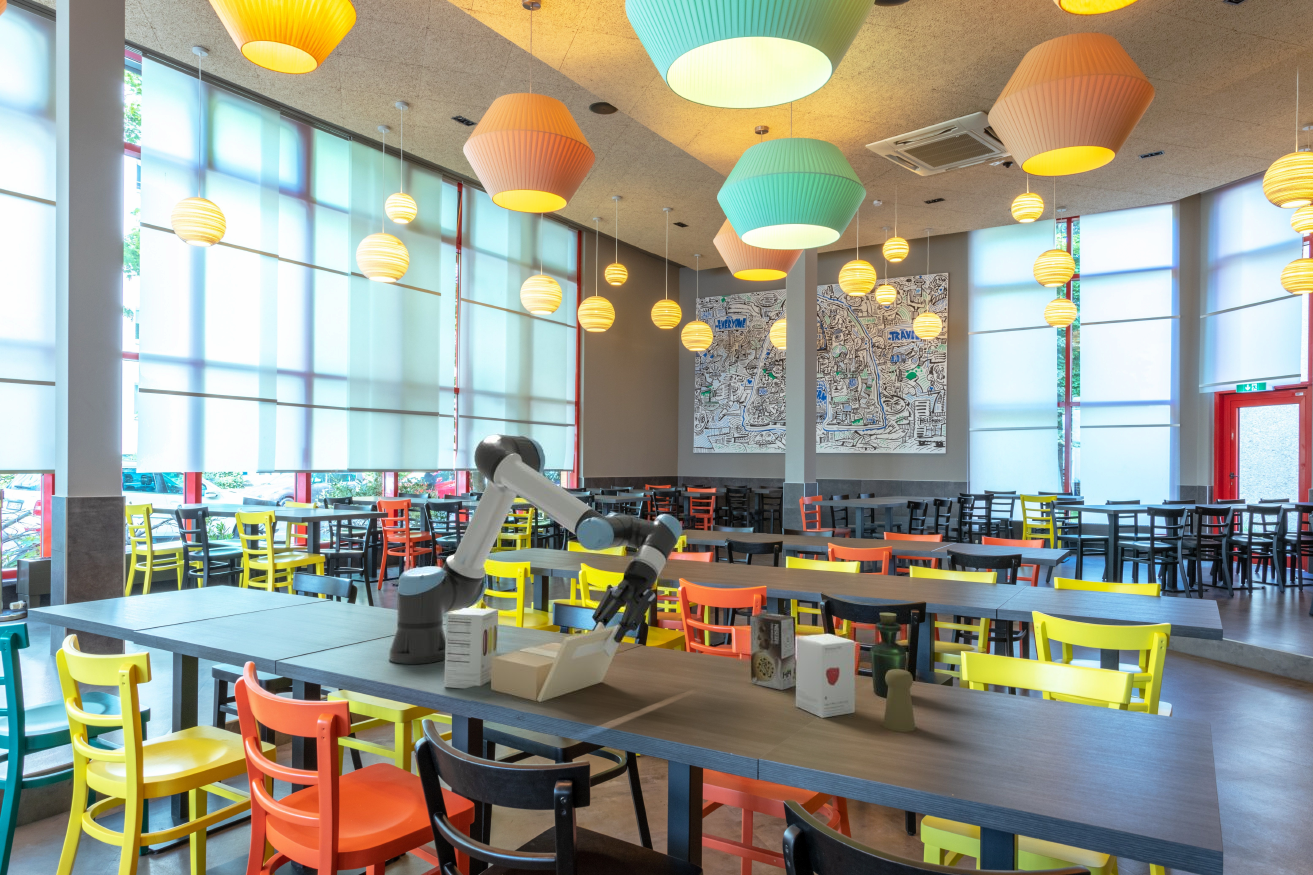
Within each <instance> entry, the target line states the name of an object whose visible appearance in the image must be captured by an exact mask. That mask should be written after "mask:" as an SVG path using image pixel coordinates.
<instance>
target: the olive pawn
mask: <svg viewBox="0 0 1313 875" xmlns="http://www.w3.org/2000/svg"><path fill="white" fill-rule="evenodd" d="M885 680H886V684H887V685H888V693H887V697H886V702H885V710H884V716H883V727H884V728H885V729H887V730H890V731H893V732H901V733H907V732H914V731H916V723H915V714H914V709H913V708H914V707H913V702H912V701H913V700H912V694H911V688H912V686H913V682H914V678H913V675H912V673H911V672H910V671H908V670H901V669H892V670H889V671H888V672H887V673H886V676H885Z"/></svg>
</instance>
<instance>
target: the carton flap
mask: <svg viewBox="0 0 1313 875" xmlns="http://www.w3.org/2000/svg"><path fill="white" fill-rule="evenodd" d="M618 625H619V626H621V625H620V624H618ZM615 626H616V625H612V626H607V627H606V628H603V629H599V630H595V631H592V630H590V631H588V632H583V633H579V634H574V635H570V636H565V637H564V638H563V640H562V642H561V644H562V645H561V647H560V649H559V652H558V654H557V656H556V658H555V660H554V663H553V665H552V667H551V669H550V672H549V674H548V676H547V678H546V680H545V683H544V685H543V687H542V689H541V692H540V694H539V696H538V698H537V702H538V703H539V702H545V701H547V700H550V699H554V698H556V697H559V696H563V695H565V694H569V693H572V692H575V691H579V690H581V689H584V688H587V687H590V686H594V685H597V684H599V683H602V682H603V680H604V678H605V675H606V674H607V671H608V669H609V668H610V665H611V663H612V660H613V658H614V657H615V654H616V652H617V650H618V648H619V646H620V644H621V642H620V643H618V644H617V646H616V648H615V650H614V651H613V653H612V655H611V657H608V656H607V655H606V653H605V652H604V651H603V647H604V645H605V644H606V642H607V640H608V638H609V637H610V635H611V633H612V631H613V629H614V628H615Z"/></svg>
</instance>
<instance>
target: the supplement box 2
mask: <svg viewBox="0 0 1313 875" xmlns="http://www.w3.org/2000/svg"><path fill="white" fill-rule="evenodd" d="M855 646H856V641H855V640H852V639H849V638H844V637H841V636H838V635H835V634H832V633H823V634H811V635H801V636H796V686H795V707H797V708H800V709H801V710H803V711H806V712H808V713H811V714H813V715H816V716H818V717H819V718H821V719H823V718H830V717H835V716H836V717H837V716H842V715H846V714H854V713H855V712H856V711H855V709H856V708H855V707H856V706H855V705H856V704H855V701H856V697H855V695H856V693H855V692H856V691H855V690H856V687H855V686H856V684H855V681H856V679H855V678H856V677H855V676H856V675H855V674H856V672H855V671H856V670H855V669H856V660H855V659H856V658H855V657H856V650H855V649H856V647H855Z"/></svg>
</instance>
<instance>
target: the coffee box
mask: <svg viewBox="0 0 1313 875" xmlns="http://www.w3.org/2000/svg"><path fill="white" fill-rule="evenodd" d="M796 624H797V623H796V616H792V615H784V614H778V613H772V612H760V613H758V614H754V615H751V616H750V683H751V684H752V685H756V686H757V685H758V686H763V687H766V688H771V689H776V690H781V691H784V690H786V689H789V688H792V687H796V658H797V634H796V629H797V628H796V627H797V626H796Z"/></svg>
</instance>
